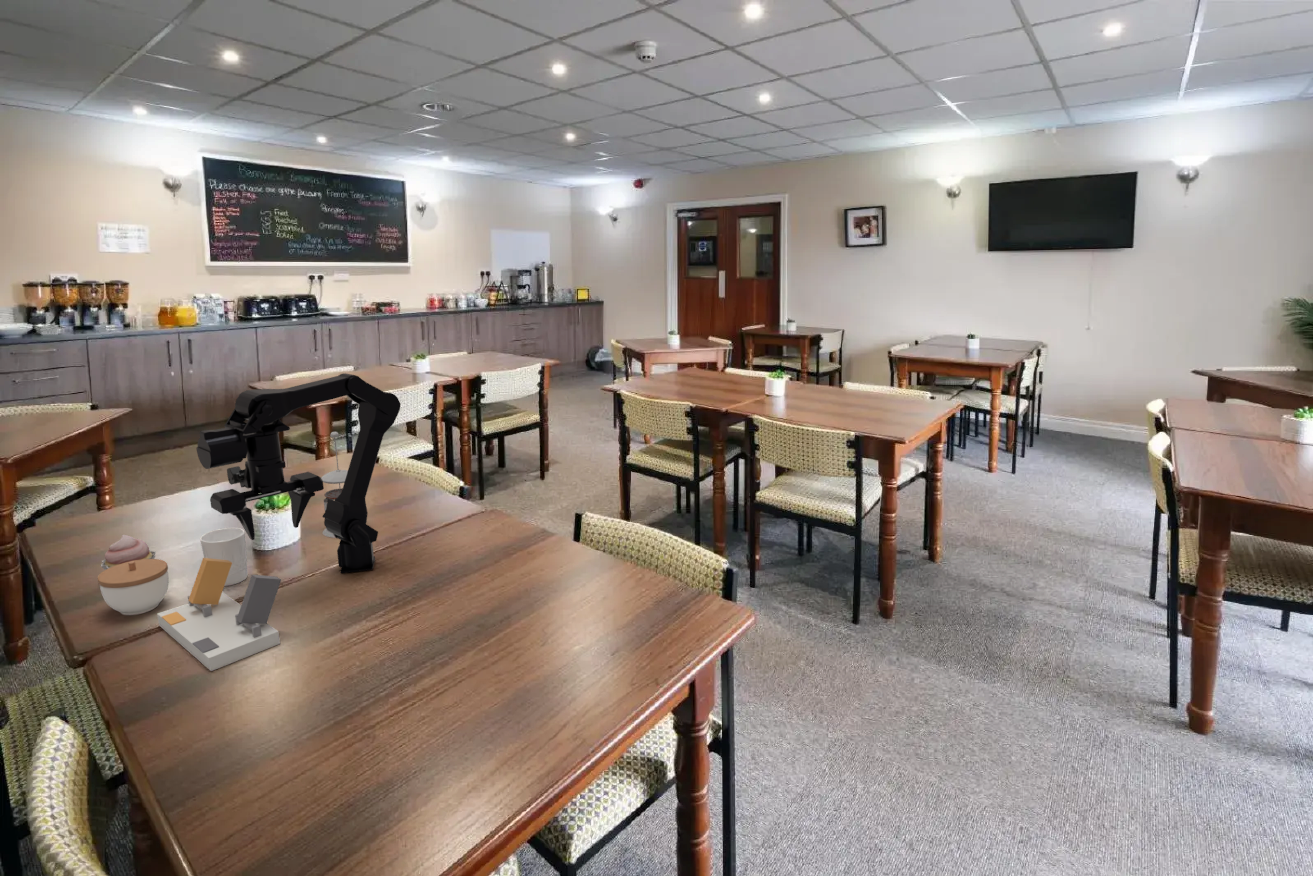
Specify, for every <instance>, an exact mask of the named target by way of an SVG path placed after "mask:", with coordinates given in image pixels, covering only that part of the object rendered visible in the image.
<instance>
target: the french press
mask: <svg viewBox="0 0 1313 876" xmlns="http://www.w3.org/2000/svg"><path fill="white" fill-rule="evenodd" d="M339 436H340V434H339V432H338V431H332V432H331V433H330V438H333V439H334V449H335V458H336V468H337V469H335V470H332V471H329V472H326V473H324V474H323V476H320V477H321V479H322V480H323V484H328V485H329V484H332V485H338V486H339V488H334V489H331V490H328V491H326V492H325V493H324V494H323V495H324V497H325V498H324V499H323V507H324V512H325V511H326V508H327V502H328V500H329V499H332V500H334V501H335V499H336V498H337V497H338V496H339V495H340V494H341V492H342V489H343V487H342V488H341V484H344V482H345V479H346V476H347V472H348V469H347V470H346V469H339V462H338V460H339V459H338V452H337V442H336V438H338V437H339ZM322 535H323V536H325V537H326V538H335V536H334V534H333V533H331V532H329V531H328V530H327V528H326V527H325V528H324V530H322Z"/></svg>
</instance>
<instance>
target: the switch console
mask: <svg viewBox="0 0 1313 876" xmlns="http://www.w3.org/2000/svg"><path fill="white" fill-rule="evenodd" d="M189 597H190V595H188V596H187V599H188V600H189ZM188 600H187V601H188ZM207 605H208V606H205V607H202V609H203V611H202V610H201V609H199V608H198V607H197V606H195V605H194V604H192V603H191V602H190V601H188V603H185V604H182V605H179V606H176V607H173V608H170V609H166V610H164V611H161V612H158V613H156V615H157V621H158V625H159V627H161V628H162V629H163V631H165V632H166V633H167V634H168V635H169V636H170V637H171V638H172V639H174V640H175V641H176V642H177V643H178V644H180V645H181V646H182V647H183V648H184V649H185V650H186V651H187V652H189V653H190V655H192V656H193V657H194V658H195V659H196V660H198V661H199V662H200V663H201V664H202V665H203V666H204V667H205V668H206V669H208V670H209V671H211V672H212V671H215V670H217V669H220V668H222V667H225V666H228V665H230V664H233V663H235V662H237V661H240V660H243V659H245V658H248V657H250V656H252V655H255V654H258V653H260V652H262V651H265V650H268V649H270V648H272V647H275V646H278V645H280V644H281V639H280V634H279V630H277V629H276V628H274V627H273V626H271V625H270V624H269V623H267V624H259V623H256V626H254V627H252V631H251V630H250V629H249V628H247V627H246V626H244V625H243V624H242V623H240V622H239V621H238V620H237V617H238V614H239V611H240V608H241V605H242V604H240V603H239V602H237V600H235V599H233V598H232V597H230V596H229V595H228V594H226V593H225V592H223V591H222V594H221V597H220V600H219V603H218V605H213V604H207ZM211 609H212V610H211Z"/></svg>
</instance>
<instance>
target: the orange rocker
mask: <svg viewBox="0 0 1313 876" xmlns="http://www.w3.org/2000/svg"><path fill="white" fill-rule="evenodd" d="M231 565H232V562H230V561H229V560H221V559H211V558H204V557H202V560H201V562H200V564H199V569H198V572H197V575H196V576H195V581H194V583H193V585H192V589H191V592H190V595H189V596H190V597H189V600H187V601H188V602H189V601H190V602H191V603H192V604H194V605H195V606H197V607H198V608H199V609H201V610H202V611H203V609H202V607H205V606H208V605H207V604H213V605H218V603H219V600H220V597H221V594H222V592H223V590H224V588H225V586H224V585H225V582H226V579H227V576H228V573H229V571H230V568H231ZM211 610H212V609H211Z"/></svg>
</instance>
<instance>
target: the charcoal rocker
mask: <svg viewBox="0 0 1313 876" xmlns="http://www.w3.org/2000/svg"><path fill="white" fill-rule="evenodd" d="M250 575H251V576H250V579H249V581H248V585H247V588H246V590H245V592H244V593H245V594H244V597H243V599H242V603H241V604H240V605H241V608H240V611H239V614H238V617H237V620H238V621H239V622H240V623H242V624H243V625H244V626H246V627H247V628H249V629H250V630H251V631H252V627H254V626H256V623H259V624H268V621H269V618H270V614H271V612H272V608H273V606H274V602H275V600H276V596H277V593H278V591H279V587H280V584H281V581H282V579H281V578H280V577H278V576H271V575H263V574H262V575H261V574H250Z"/></svg>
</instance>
